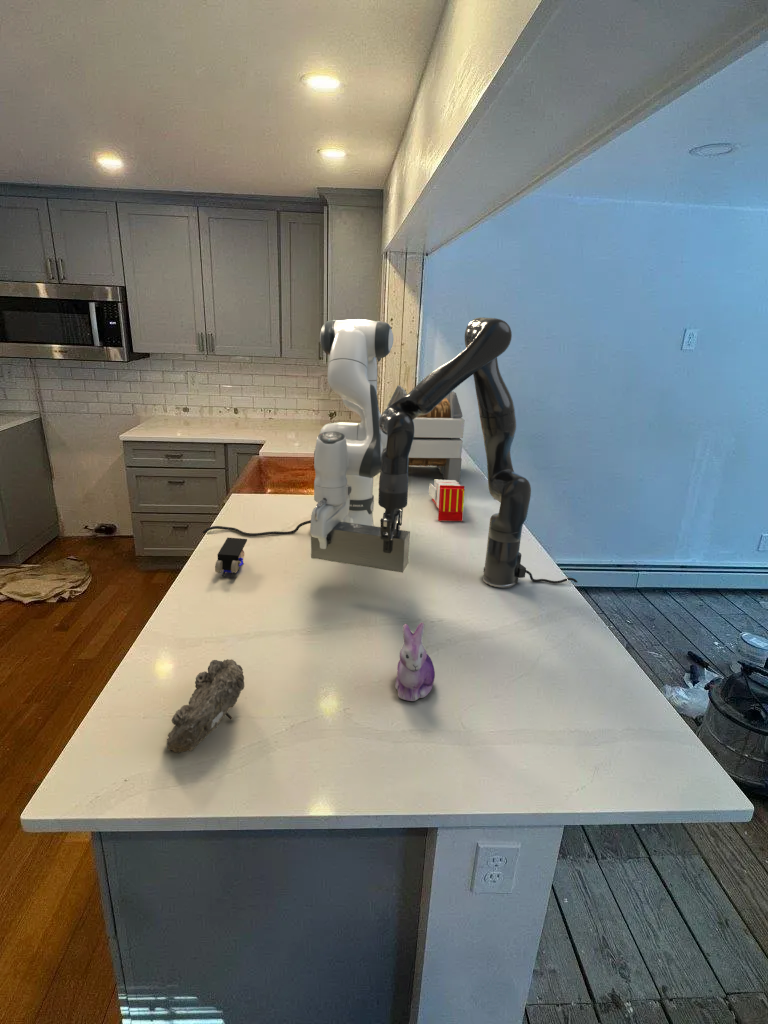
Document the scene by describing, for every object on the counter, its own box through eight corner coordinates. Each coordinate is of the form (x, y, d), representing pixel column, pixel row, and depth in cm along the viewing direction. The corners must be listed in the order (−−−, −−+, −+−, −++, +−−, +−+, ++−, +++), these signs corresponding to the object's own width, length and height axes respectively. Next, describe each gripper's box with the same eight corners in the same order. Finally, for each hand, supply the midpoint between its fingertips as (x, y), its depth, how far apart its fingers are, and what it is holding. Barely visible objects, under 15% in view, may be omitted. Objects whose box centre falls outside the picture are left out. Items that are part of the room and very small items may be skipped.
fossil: (192, 660, 117) (244, 628, 112) (224, 691, 120) (276, 661, 115) (142, 746, 98) (202, 712, 93) (182, 779, 101) (242, 748, 96)
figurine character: (238, 584, 162) (249, 557, 175) (236, 562, 158) (247, 536, 172) (215, 584, 161) (227, 556, 175) (212, 561, 158) (225, 535, 171)
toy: (456, 475, 238) (469, 487, 209) (454, 506, 241) (466, 522, 212) (427, 474, 238) (436, 486, 209) (426, 505, 241) (434, 521, 211)
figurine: (406, 709, 112) (411, 644, 107) (383, 680, 121) (386, 618, 116) (446, 696, 116) (452, 633, 111) (420, 669, 125) (425, 609, 120)
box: (311, 558, 156) (310, 525, 152) (319, 549, 161) (319, 518, 158) (402, 572, 149) (404, 539, 146) (408, 563, 155) (410, 531, 151)
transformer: (382, 463, 289) (386, 382, 275) (445, 464, 293) (451, 384, 279) (390, 482, 257) (394, 392, 243) (460, 483, 261) (468, 394, 247)
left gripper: (327, 507, 141) (327, 557, 146) (354, 484, 159) (352, 530, 164) (304, 503, 142) (304, 554, 147) (333, 482, 161) (332, 527, 166)
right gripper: (400, 497, 138) (397, 560, 144) (414, 482, 151) (410, 540, 157) (371, 494, 140) (369, 556, 146) (387, 478, 153) (384, 536, 159)
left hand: (330, 541), depth 156 cm, fingers open, 8 cm apart
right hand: (390, 547), depth 151 cm, fingers closed on box, 6 cm apart
